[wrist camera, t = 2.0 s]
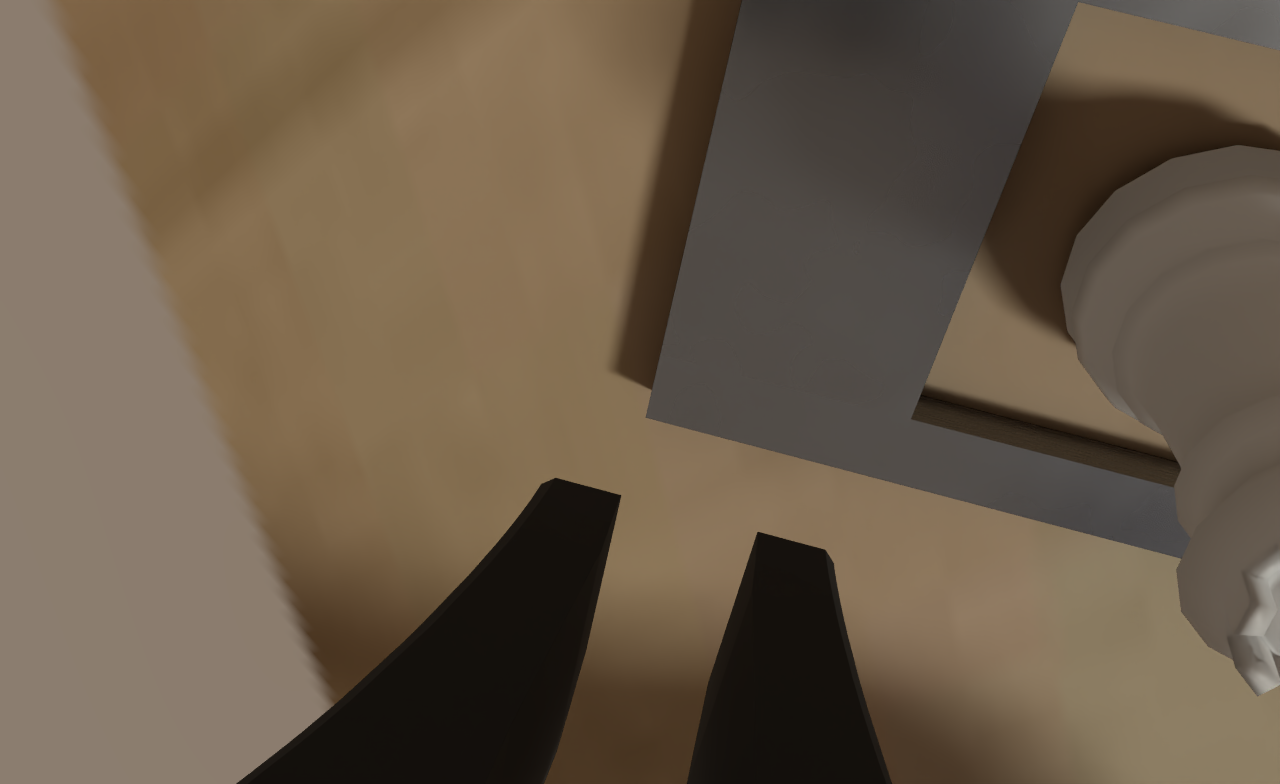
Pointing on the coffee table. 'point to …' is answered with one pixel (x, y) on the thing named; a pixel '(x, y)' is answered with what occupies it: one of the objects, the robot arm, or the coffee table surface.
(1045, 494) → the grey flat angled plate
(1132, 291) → the rook chess piece
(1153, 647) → the coffee table surface
